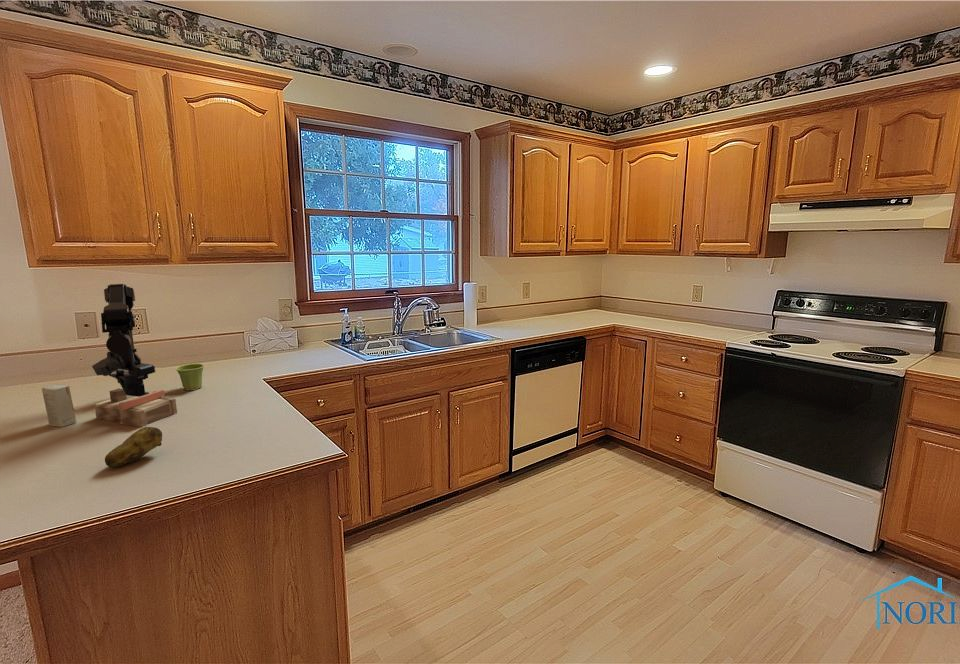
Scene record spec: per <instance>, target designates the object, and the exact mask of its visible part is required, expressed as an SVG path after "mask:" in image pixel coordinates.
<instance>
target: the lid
mask: <svg viewBox="0 0 960 664" xmlns="http://www.w3.org/2000/svg"><path fill="white" fill-rule="evenodd" d="M109 397H110V399H107V400H103V401H101V402H97V403H96V404H95V405H96V406H95V407H102V408H110V409H118V410H119V409H120V405H119V403H121V402H125V401H128V400H131V399H134V398H137V396H128V395H126V393H125V392H124V390H123V388H120V387H119V388H116V389H111V390H109ZM169 403H170V400H164V399H154V400H152V401H149V402H146V403H143V404H140V405H137V406H134V407H131V408H129V409H137V410H144V412H147V411H150V410H152V409H155V408H158V407H161V406H163V405H166V404H169Z"/></svg>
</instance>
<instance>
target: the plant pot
mask: <svg viewBox="0 0 960 664" xmlns="http://www.w3.org/2000/svg"><path fill="white" fill-rule="evenodd" d="M204 367H205V365H204V364H203V363H190V364H183V365H180V366H177V367H176V368H175V370H176V371H177V373H178V375H179V378H180V380H181V381H180V382H181V385H182V388H183V390H184V391H187V390H188V391H194V390H198V389H200V388H202V387H203V372H204V371H203V370H204Z"/></svg>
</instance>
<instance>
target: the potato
mask: <svg viewBox="0 0 960 664" xmlns="http://www.w3.org/2000/svg"><path fill="white" fill-rule="evenodd" d="M162 442H163V432H162V430H161V429H159V428H158V427H154V426H144V427H140V428H139V429H138V430H136V431H135V432H133V433H132V434H131V435H130V436H128V437H127V438H126V439H125V440H124V441H123V442H122V443H121V444H120V445H118V446H116V447H114V448H113V449H112V450H111V451H109V452H108V453H107V454H106V455H105V456H104V463H105V466H107V467H109V468H119V467H122V466H124V465H127V464H128V463H132V462H135V461H137V460H138V459H141V458H142V457H143V456H145V455H146V454H147V453H149V452H151V451H152V450H154V449H155V448H157V447H160V446H161V447H162V445H163V444H162Z"/></svg>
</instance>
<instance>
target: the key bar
mask: <svg viewBox="0 0 960 664" xmlns="http://www.w3.org/2000/svg"><path fill="white" fill-rule="evenodd" d="M154 391H155V392H154ZM154 391H152V392H149V394H146V395H143V396H140V397H137V398H134V399H131V400H128V401H125V402H122V403H120V408H121V410H126V409H129V408H131V407H134V406H137V405H140V404H143V403H146V402H149V401H152V400H154V399H157V398H160V397H165V396H166V394H165V390H164V389H159V390H154Z"/></svg>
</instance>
